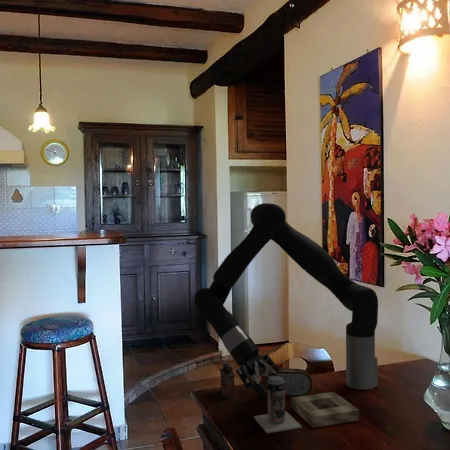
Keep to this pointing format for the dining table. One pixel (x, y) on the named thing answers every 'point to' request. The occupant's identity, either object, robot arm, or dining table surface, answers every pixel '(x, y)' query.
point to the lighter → (227, 381)
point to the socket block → (334, 413)
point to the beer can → (276, 399)
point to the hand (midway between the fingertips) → (274, 392)
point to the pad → (273, 427)
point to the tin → (294, 381)
